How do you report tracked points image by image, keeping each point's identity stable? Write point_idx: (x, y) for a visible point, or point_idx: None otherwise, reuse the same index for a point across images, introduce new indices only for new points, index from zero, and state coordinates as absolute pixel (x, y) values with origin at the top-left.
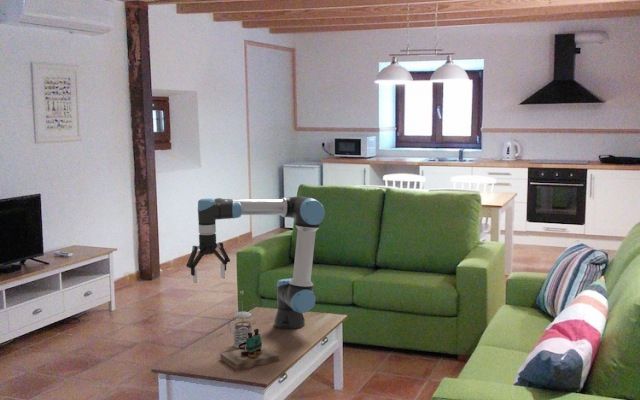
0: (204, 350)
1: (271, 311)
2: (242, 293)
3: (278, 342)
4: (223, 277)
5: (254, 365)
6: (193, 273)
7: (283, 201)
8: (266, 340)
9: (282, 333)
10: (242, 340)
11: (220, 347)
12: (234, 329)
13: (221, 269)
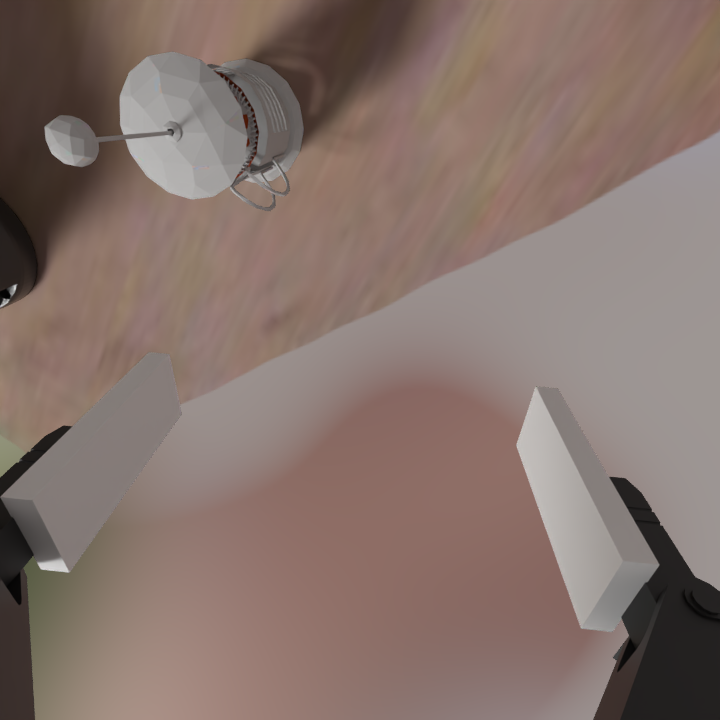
0: (440, 177)
1: (14, 418)
2: (72, 117)
3: (74, 18)
4: (161, 362)
5: None
6: (626, 504)
7: None
8: None
9: (23, 146)
10: (260, 81)
11: (360, 164)
12: (268, 151)
13: (118, 471)
